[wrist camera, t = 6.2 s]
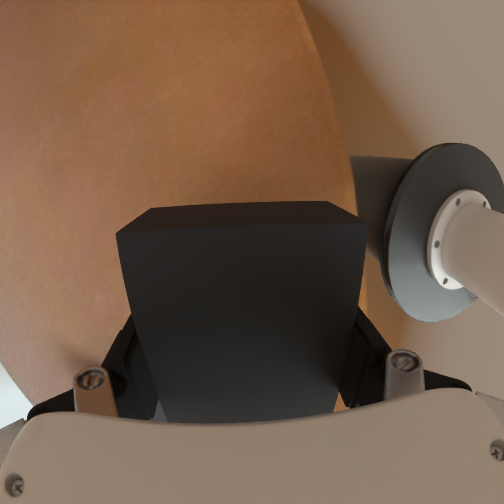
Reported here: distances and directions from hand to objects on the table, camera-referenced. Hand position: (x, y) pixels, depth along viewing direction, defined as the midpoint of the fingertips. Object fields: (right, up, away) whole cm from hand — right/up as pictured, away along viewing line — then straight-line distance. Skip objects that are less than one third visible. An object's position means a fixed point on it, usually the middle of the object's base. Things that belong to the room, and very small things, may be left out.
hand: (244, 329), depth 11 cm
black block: (0, -1, +1) cm, 2 cm away
